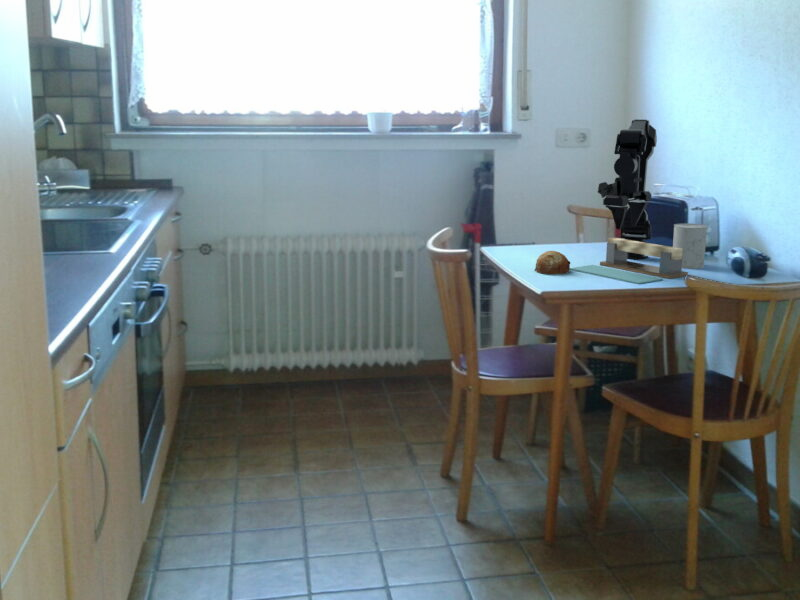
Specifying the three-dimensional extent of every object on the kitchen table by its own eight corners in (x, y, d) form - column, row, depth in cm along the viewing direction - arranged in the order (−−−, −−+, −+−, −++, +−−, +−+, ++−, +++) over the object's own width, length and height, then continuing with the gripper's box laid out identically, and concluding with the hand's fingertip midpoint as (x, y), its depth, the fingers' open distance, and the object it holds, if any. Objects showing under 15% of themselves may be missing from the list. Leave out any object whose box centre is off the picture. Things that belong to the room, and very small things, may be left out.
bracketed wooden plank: (599, 265, 269) (600, 242, 267) (617, 262, 273) (618, 239, 271) (669, 278, 248) (671, 254, 246) (687, 275, 252) (689, 251, 251)
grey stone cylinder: (706, 264, 270) (709, 224, 267) (702, 269, 261) (705, 228, 259) (673, 262, 274) (676, 222, 271) (668, 267, 265) (671, 226, 263)
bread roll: (537, 280, 264) (526, 256, 262) (568, 265, 264) (557, 241, 262) (545, 287, 254) (534, 262, 253) (577, 271, 254) (566, 247, 252)
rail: (607, 248, 268) (608, 238, 268) (614, 247, 270) (614, 237, 269) (675, 260, 248) (675, 249, 248) (681, 259, 250) (682, 248, 249)
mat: (592, 266, 267) (592, 264, 267) (662, 280, 246) (662, 278, 246) (569, 269, 261) (569, 268, 261) (638, 284, 240) (638, 282, 240)
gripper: (619, 170, 268) (616, 221, 271) (587, 174, 254) (585, 228, 258) (653, 172, 260) (650, 225, 264) (623, 177, 247) (620, 232, 250)
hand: (626, 227), depth 259 cm, fingers open, 9 cm apart
